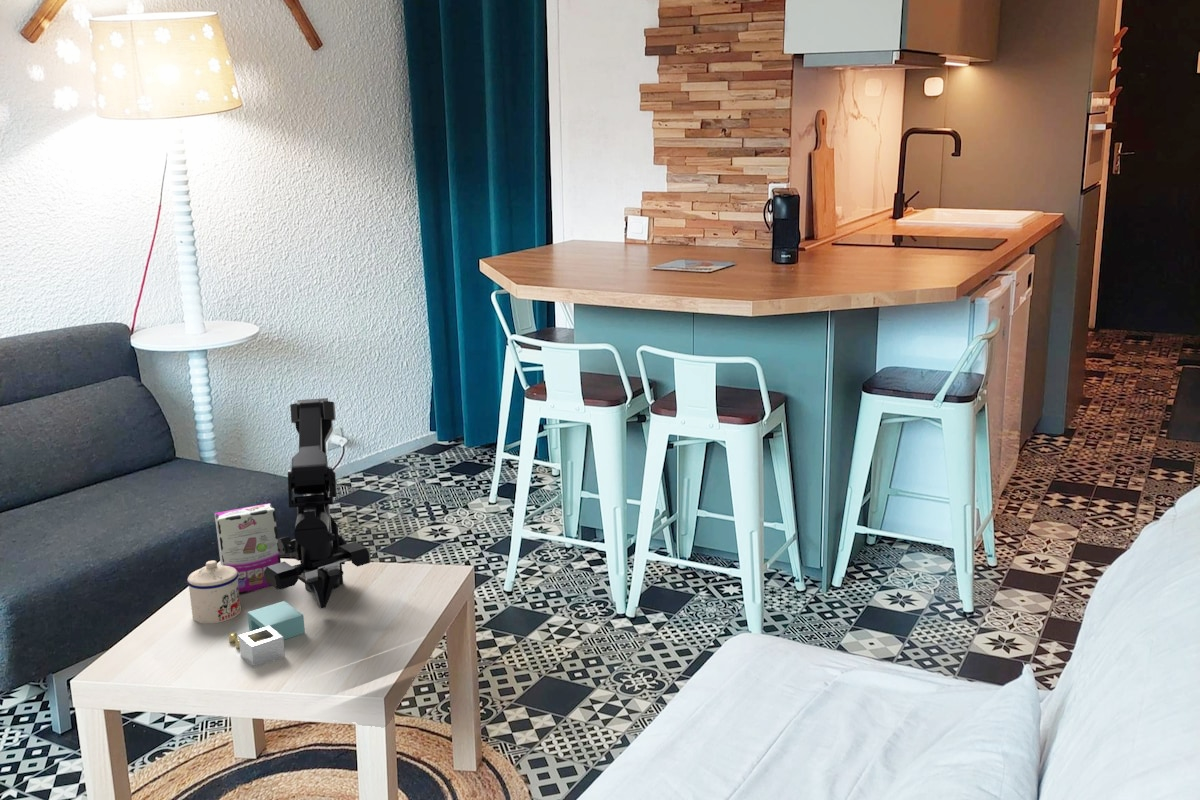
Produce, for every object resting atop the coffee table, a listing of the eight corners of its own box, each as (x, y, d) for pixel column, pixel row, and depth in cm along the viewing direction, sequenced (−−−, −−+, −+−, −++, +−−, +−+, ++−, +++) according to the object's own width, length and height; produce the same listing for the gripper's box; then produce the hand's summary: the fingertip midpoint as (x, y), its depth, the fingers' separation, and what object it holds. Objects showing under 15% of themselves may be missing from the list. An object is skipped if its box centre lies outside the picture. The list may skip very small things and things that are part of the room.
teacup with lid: (226, 632, 201) (219, 573, 198) (182, 628, 203) (175, 569, 200) (259, 604, 212) (253, 548, 210) (217, 601, 214) (211, 545, 212)
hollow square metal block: (271, 646, 193) (269, 625, 192) (285, 657, 188) (283, 636, 187) (240, 656, 189) (238, 635, 188) (253, 668, 185) (251, 646, 184)
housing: (285, 618, 203) (284, 600, 202) (304, 632, 197) (303, 614, 196) (249, 629, 199) (247, 612, 198) (267, 644, 193) (266, 626, 192)
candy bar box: (278, 577, 225) (271, 501, 221) (283, 586, 221) (276, 509, 217) (222, 588, 220) (213, 511, 216) (226, 597, 216) (217, 519, 212)
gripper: (340, 505, 211) (347, 580, 215) (247, 529, 200) (256, 608, 203) (369, 520, 203) (375, 598, 207) (273, 546, 191) (281, 628, 195)
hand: (322, 607), depth 203 cm, fingers closed
